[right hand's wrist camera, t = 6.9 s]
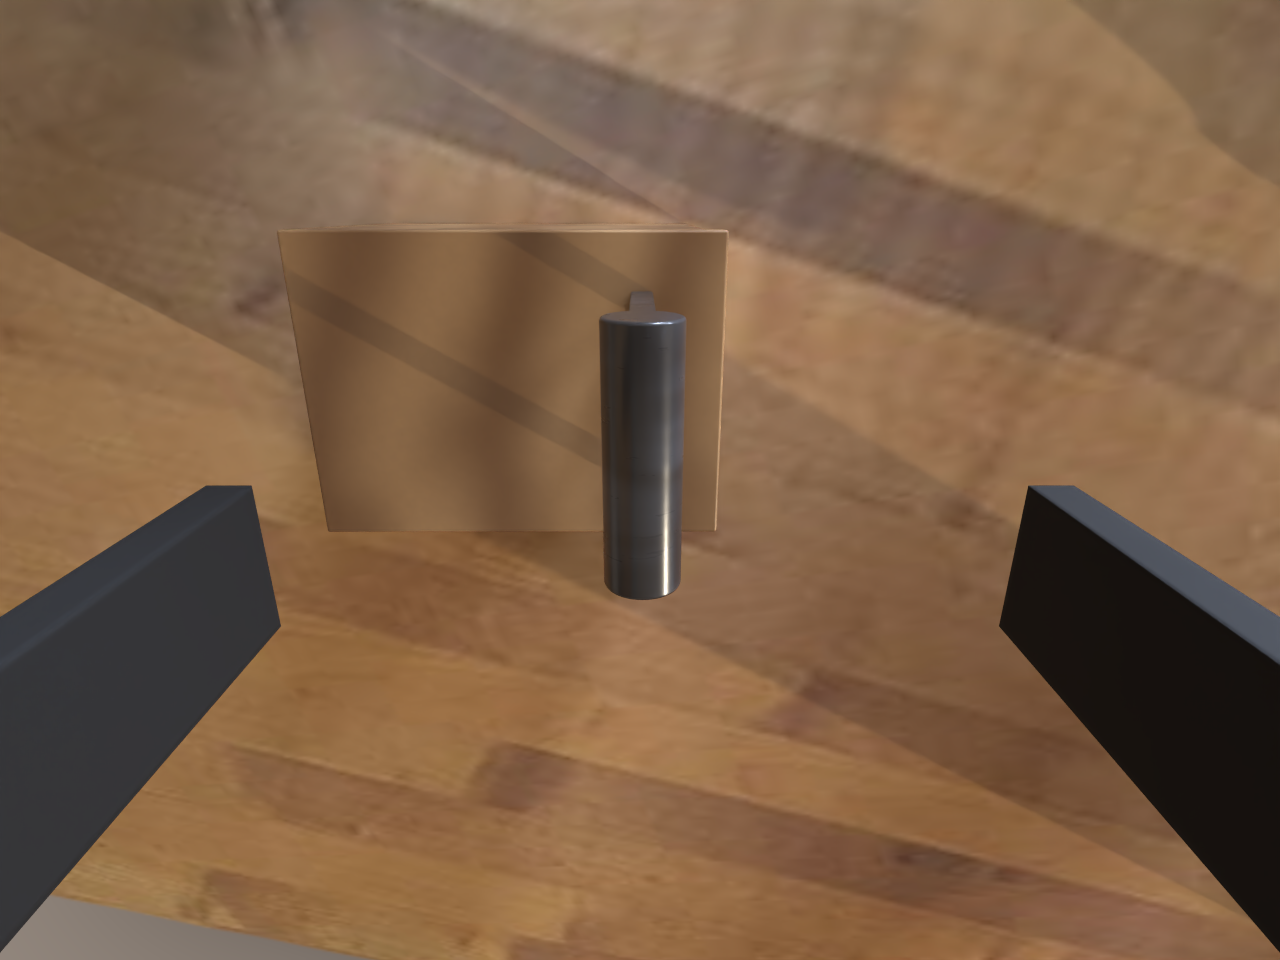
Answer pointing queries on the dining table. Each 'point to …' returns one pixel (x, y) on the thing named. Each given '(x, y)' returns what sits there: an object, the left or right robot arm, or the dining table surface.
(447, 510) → the lid
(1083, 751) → the dining table surface
